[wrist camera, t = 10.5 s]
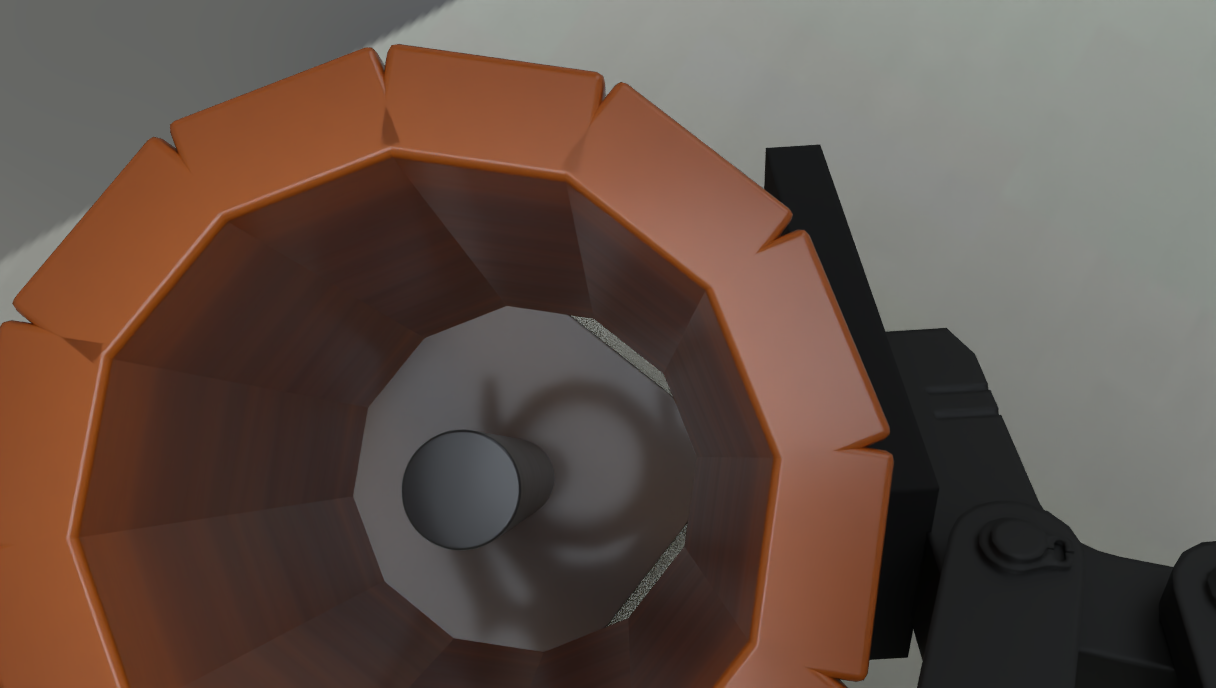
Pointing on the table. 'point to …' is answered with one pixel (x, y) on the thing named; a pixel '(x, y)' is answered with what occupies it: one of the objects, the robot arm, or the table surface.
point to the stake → (521, 479)
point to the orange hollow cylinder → (372, 354)
